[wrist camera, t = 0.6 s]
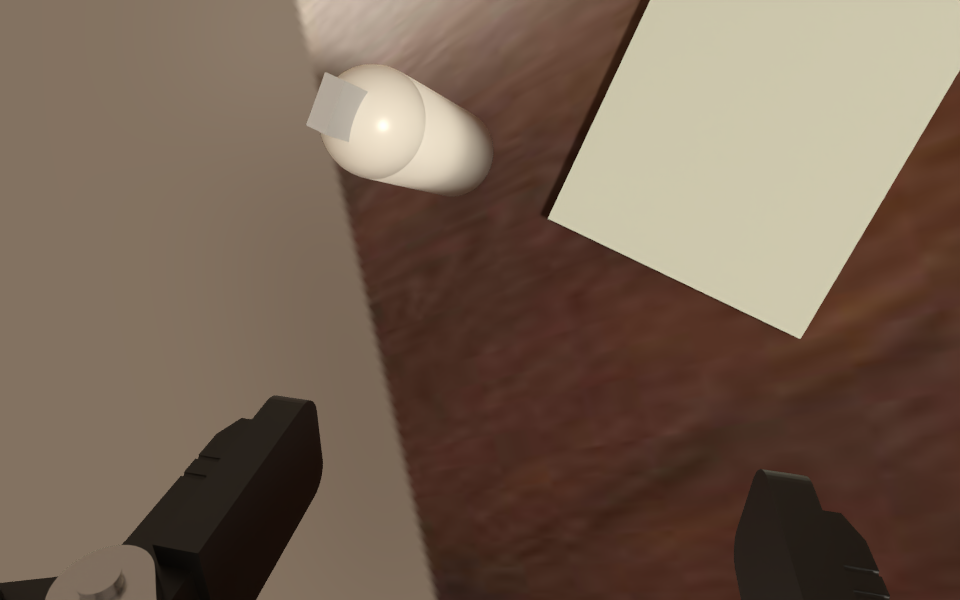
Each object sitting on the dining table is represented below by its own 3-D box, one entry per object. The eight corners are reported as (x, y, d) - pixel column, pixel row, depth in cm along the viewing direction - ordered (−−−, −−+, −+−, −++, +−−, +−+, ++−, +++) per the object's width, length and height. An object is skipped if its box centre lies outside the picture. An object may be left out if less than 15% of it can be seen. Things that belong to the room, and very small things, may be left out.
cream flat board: (726, -157, 30) (727, -164, 30) (1042, -75, 26) (1049, -82, 26) (550, 219, 35) (547, 218, 34) (798, 337, 31) (800, 339, 30)
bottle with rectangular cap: (434, 97, 37) (298, 19, 25) (507, 129, 35) (400, 63, 23) (402, 176, 38) (257, 139, 26) (471, 210, 36) (352, 188, 24)
